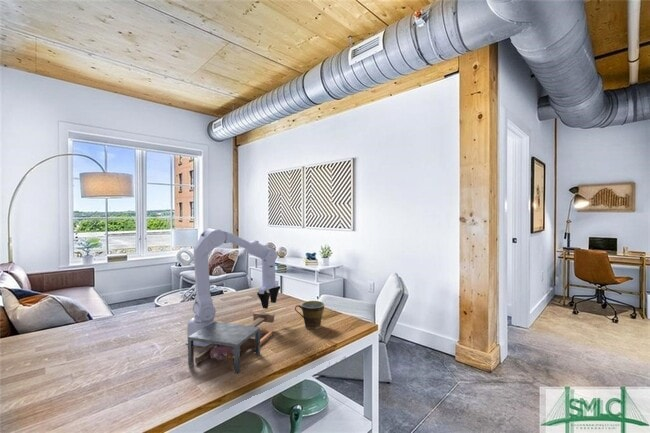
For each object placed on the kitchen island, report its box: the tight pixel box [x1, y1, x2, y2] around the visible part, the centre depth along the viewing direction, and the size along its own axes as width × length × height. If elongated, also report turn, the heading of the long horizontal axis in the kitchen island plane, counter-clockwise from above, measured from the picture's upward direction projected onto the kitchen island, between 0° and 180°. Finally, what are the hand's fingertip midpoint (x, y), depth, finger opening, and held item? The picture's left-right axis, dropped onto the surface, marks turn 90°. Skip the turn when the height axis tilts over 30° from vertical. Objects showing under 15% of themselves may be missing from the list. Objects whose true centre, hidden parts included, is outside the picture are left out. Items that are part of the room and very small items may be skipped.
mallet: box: [194, 311, 275, 371], centre depth 116 cm, size 15×34×6 cm, turn 163°
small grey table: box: [187, 320, 261, 375], centre depth 105 cm, size 19×14×10 cm
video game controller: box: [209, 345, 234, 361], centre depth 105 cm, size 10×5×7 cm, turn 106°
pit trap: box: [252, 328, 274, 347], centre depth 121 cm, size 13×14×2 cm
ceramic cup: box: [294, 300, 325, 331], centre depth 133 cm, size 13×10×10 cm
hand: (269, 305), depth 135 cm, fingers open, 7 cm apart
